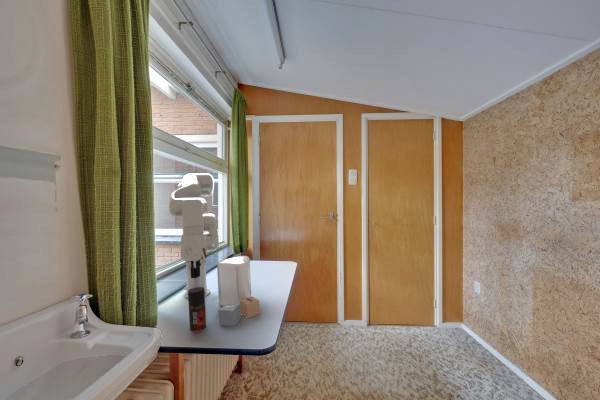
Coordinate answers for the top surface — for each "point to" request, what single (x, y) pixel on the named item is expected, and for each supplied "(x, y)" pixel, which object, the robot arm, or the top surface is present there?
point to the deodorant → (197, 309)
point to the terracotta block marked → (249, 307)
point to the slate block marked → (229, 314)
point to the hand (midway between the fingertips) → (195, 277)
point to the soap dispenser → (234, 280)
